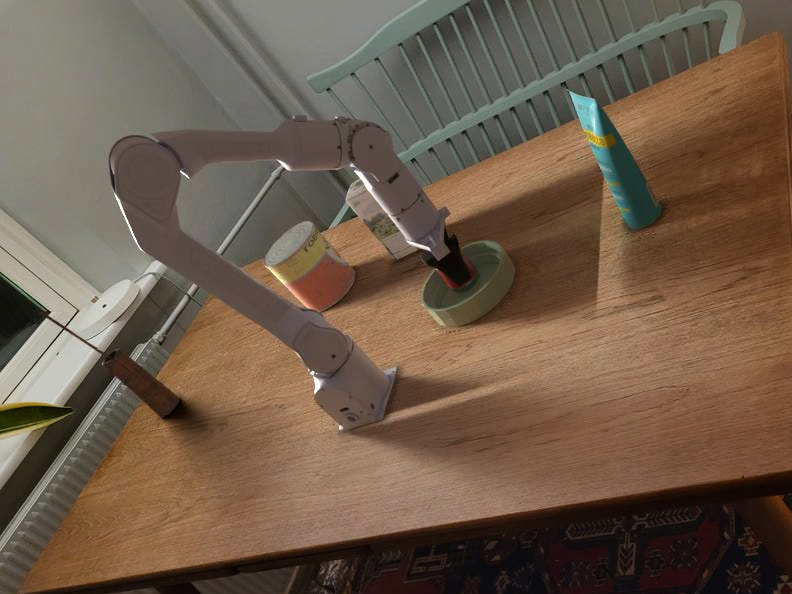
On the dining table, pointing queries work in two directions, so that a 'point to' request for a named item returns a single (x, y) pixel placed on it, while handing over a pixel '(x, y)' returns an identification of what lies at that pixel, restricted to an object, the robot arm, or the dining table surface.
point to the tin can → (467, 284)
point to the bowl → (479, 298)
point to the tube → (617, 165)
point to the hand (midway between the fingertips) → (459, 273)
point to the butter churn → (134, 378)
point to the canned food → (310, 267)
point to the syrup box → (378, 220)
